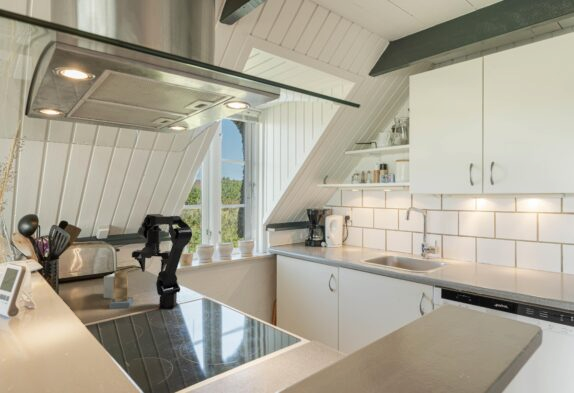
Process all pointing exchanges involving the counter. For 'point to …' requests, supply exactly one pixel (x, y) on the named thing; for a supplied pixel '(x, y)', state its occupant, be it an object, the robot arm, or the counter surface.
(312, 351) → the counter surface
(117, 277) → the oak pillar
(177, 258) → the robot arm
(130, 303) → the slate base block
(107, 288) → the small box
